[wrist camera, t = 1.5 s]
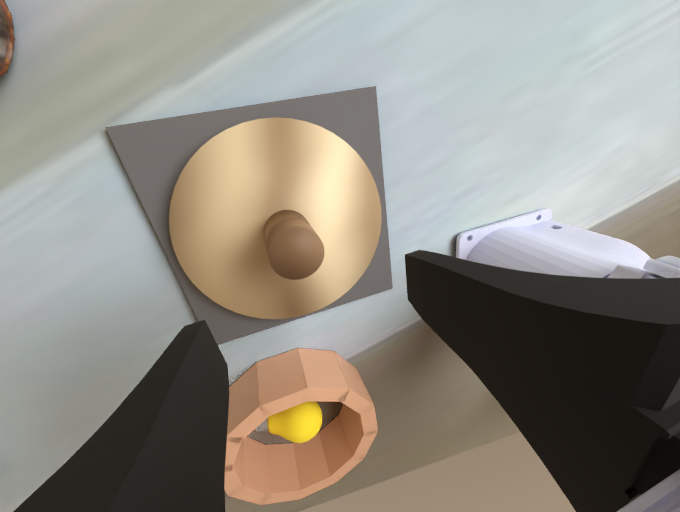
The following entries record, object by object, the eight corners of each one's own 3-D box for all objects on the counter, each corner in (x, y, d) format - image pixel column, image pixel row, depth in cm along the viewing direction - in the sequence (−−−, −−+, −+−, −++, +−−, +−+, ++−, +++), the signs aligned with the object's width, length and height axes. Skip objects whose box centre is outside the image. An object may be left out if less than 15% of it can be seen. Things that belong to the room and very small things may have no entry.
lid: (365, 101, 16) (403, 92, 13) (383, 283, 22) (413, 315, 18) (128, 141, 14) (84, 144, 10) (217, 335, 19) (211, 386, 16)
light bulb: (324, 401, 26) (325, 446, 23) (261, 407, 26) (254, 452, 23) (319, 387, 23) (319, 435, 21) (250, 393, 24) (241, 442, 21)
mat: (372, 87, 17) (375, 86, 16) (390, 285, 23) (392, 288, 22) (108, 127, 14) (105, 127, 13) (210, 343, 20) (210, 346, 19)
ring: (349, 329, 23) (368, 364, 20) (365, 421, 29) (382, 461, 25) (196, 382, 21) (187, 433, 17) (245, 471, 26) (246, 524, 23)
